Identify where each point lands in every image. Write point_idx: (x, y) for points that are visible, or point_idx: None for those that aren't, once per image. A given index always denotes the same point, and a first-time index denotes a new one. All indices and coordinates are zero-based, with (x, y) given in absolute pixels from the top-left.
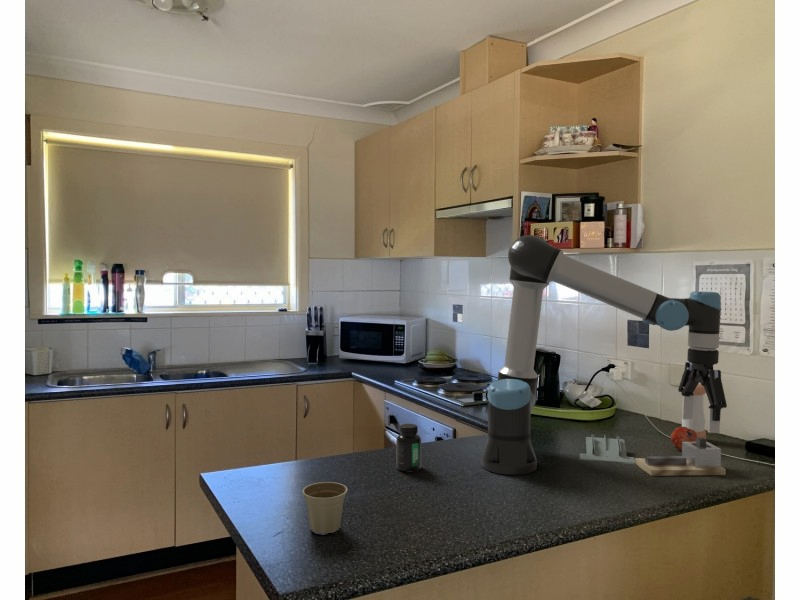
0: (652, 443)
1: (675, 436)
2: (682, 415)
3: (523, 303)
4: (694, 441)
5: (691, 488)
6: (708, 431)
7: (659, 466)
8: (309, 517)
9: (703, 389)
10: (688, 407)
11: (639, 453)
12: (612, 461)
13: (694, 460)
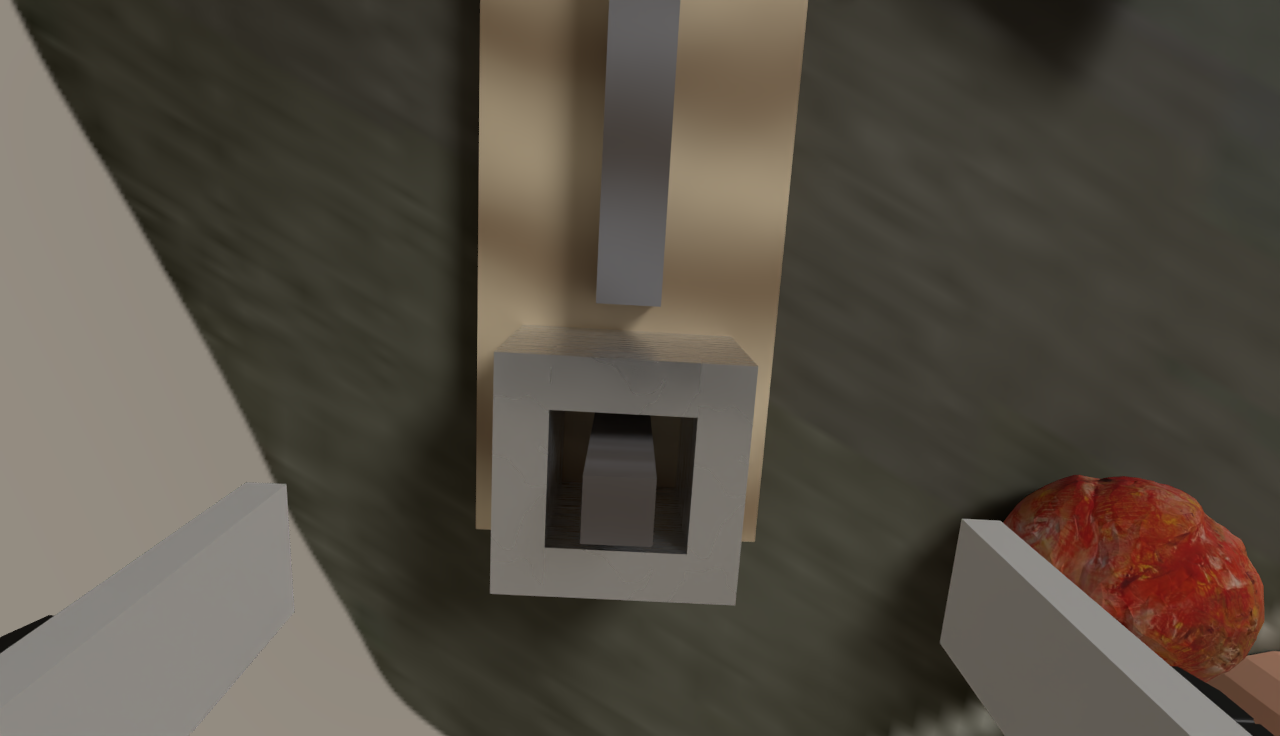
0: (1274, 386)
1: (1127, 505)
2: (1013, 545)
3: None
4: None
5: (211, 106)
6: (261, 489)
7: (573, 38)
8: None
9: None
10: (1053, 708)
11: (1052, 131)
12: None
13: (525, 334)
